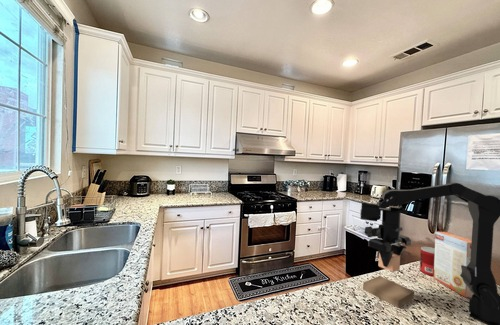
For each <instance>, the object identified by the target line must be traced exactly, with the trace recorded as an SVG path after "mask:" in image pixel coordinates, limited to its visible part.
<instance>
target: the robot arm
mask: <svg viewBox="0 0 500 325" xmlns="http://www.w3.org/2000/svg"><path fill="white" fill-rule="evenodd" d="M447 196H454V197H456V198H458V199H460V200H461V201H463V202H465V203H467V206H468V212H469V214H470V216H471V219H472V228H471V229H472V232H471V240H472V243H471V258H470V263H469V264H468V266H464V265H461V269H462V273H461V275H460V276H461V277H462V278H463V281H464V283H465V284H466V285H467V286H468V287H469V288H470V290H471V292H473V293H474V294H473V295H472V298H469V300H468V302H469V303H468V312H470V313H468V316H469V317H470V318H473V319H475V320H477V321H480V322H482V323H484V324H486V325H500V294H499V293H498V291H499V290H498V285H497V282H496V281H497V280H496V278H495V276H494V274H493V271H492V257H493V244H494V243H493V242H494V226H495V224H496V222H497V221H498V220H499V219H500V199H499V198H498V197H496V196H494V195H490V194H484V193H481V192H479V191H477V190H474V189H471V188H469V187H467V186H465V185H463V184H462V183H458V182H448V183H444V184H439V185H432V186H426V187H420V188H413V189H387V190H385V191H384V192H382V194H381V198H380V199H379V200H378V201H377V202H376V203H369V202H365V201H362V202H361V206H360V208H361V209H360V214H359V215H360V217H359V218H360V220H365V221H369V222H378V221H379V220H381V224H378V227H372V226H365V227H364V232H363V233H364V234H365V235H366V236H367V237H368V238H371V237H374V238H371V239H369V240H368V242H367V243H368V245H367V246H368V247H370V248H371V249H375V250H377V252H378V254H379V253H380V256H381V259H382V262H383V265H384V266H385V267H387V266H388V264H389V262H390V259H391V257H392V255H393V253H394V254H396V255H399V256H400V257H401V255H402V254H403V252H404V251H405V249H407V247H409V246H412V239H411V238H410V237H409V236H405V235H402V234H401V231H403V227H401V214H405V215H406V214H408V211H407V210H406V209H405V208H404V207H403V206H402V205H406V204H407V203H410V202H413V201H419V200H426V199H434V198H441V197H447ZM403 244H404V245H403Z"/></svg>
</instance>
